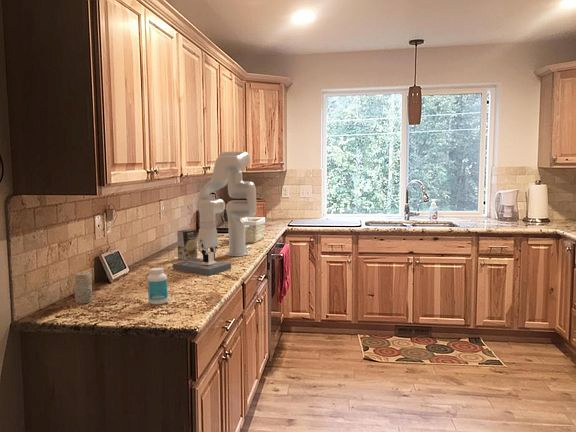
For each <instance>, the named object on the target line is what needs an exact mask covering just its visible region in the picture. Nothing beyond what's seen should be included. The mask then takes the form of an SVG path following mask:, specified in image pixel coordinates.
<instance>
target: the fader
mask: <svg viewBox="0 0 576 432" xmlns="http://www.w3.org/2000/svg"><path fill="white" fill-rule="evenodd" d="M207 254H208V259H209V262H202V263H201V264H202V265H212V264H216V263H217V262H216V261H217V260H215V261H214V252H210V250H208V253H207Z"/></svg>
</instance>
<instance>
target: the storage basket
mask: <svg viewBox="0 0 576 432" xmlns="http://www.w3.org/2000/svg"><path fill="white" fill-rule="evenodd" d="M241 218H242V220H243V221H244V223H245V244H247V243H257V242H259V241H261V240H263V239H264V238H265V230H266V217H263V216H262V217H261V216H260V217H257V216H256V217H255V216H254V217H241Z"/></svg>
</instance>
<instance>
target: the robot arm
mask: <svg viewBox="0 0 576 432" xmlns="http://www.w3.org/2000/svg"><path fill="white" fill-rule="evenodd" d="M250 162H251V157H250V154H249V153H248V152H247V151H243V150H242V151H223V152H221V153H219V155H218V157H217V158H216V160H215V163H214V167H213V170H212V175H211V178H210V180H209V181H208V182H207V183H206V184H205V185H203V186H202V188H201V190H200V191H199V193H198V197H197V199H196V210H197V211H198V213H199V226H200V227H199V229H198V232H197V251H199V252H200V253H201V255H202V259H203V262H209V259H208V254H207V253H208V252H209V251H210V252H214V261H216V252H217V249H218V247H219V246H220V244H219V239H218V230H217V226H216V223H217V222H216V214H221V213H223V212H224V211H225V210H226V214H227V224H228V225H227V226H228V251H227V252H226V256H228V257H244V256H248V255H249V251H247V250H250V249H251V246H250V245H246V242H245V223H244V221H243V220H242V218H245V217H255V216H256V214H257V210H258V209H257V189H256V185H255V183H254V182H252V181H247V180H245V181H244V180H243V172H242V170H243V171H244V169H246V168H247V167H248V166H249V165H250ZM226 186H227V191H228V192H227V193H228V196H229V197H230V198H231V199H232V198H233V199H234V200H229V201H228V202H227V204H226V202H225V201H224V200H223V199H221V198H208V197H209V195H211V194H212V193H214V192H216V191H218V190H220V189H223V188H224V187H226ZM235 199H236V200H235ZM237 199H238V200H237ZM239 199H240V200H239ZM241 199H246V200H241Z"/></svg>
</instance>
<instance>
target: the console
mask: <svg viewBox="0 0 576 432" xmlns="http://www.w3.org/2000/svg"><path fill="white" fill-rule="evenodd" d="M215 261H216V262H217V263H216V264H212V265H202V264H201V263H202V262H203V258H198V257H197V258H193V259H188V260H182V261H179V262H178V261H177V262H174V263H172V270H173V271H179V272H184V273H185V272H186V273H192V274H198V275H203V276H205V275H206V276H212V275H215V274H220V273H222V272H226V271H229V270H232V263H231V262H226V261H218V260H215Z"/></svg>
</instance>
